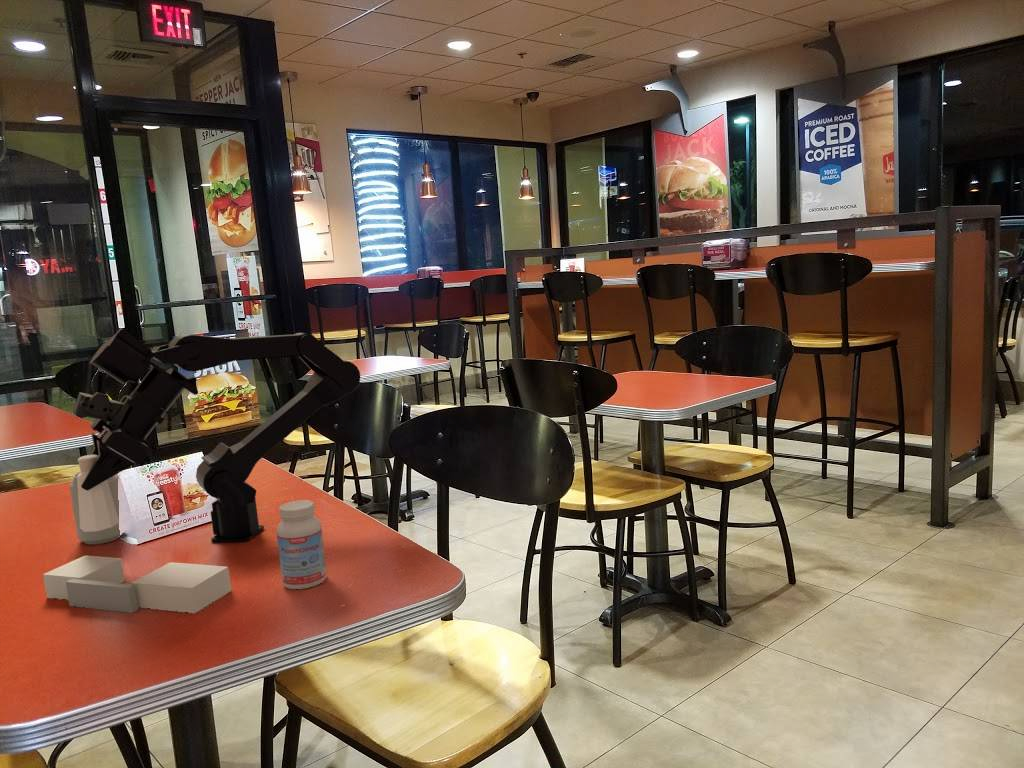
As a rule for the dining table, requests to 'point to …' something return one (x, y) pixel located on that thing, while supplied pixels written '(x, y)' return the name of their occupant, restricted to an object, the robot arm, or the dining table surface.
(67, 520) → the dining table surface
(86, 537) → the can
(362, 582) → the dining table surface
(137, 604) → the grey block set
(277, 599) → the dining table surface
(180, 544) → the dining table surface
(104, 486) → the pepper shaker
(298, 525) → the pill bottle
